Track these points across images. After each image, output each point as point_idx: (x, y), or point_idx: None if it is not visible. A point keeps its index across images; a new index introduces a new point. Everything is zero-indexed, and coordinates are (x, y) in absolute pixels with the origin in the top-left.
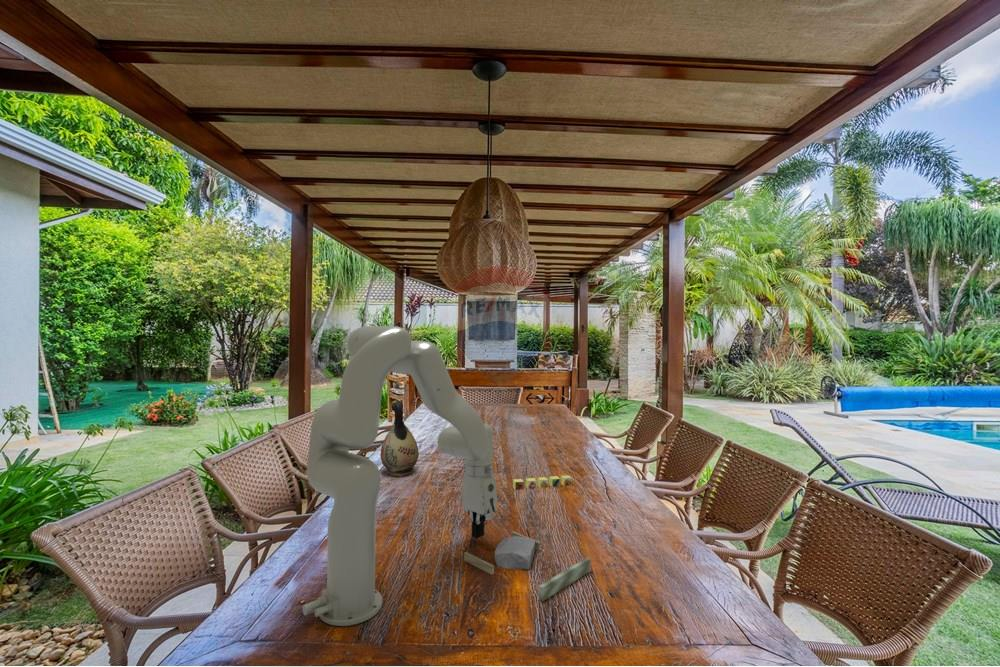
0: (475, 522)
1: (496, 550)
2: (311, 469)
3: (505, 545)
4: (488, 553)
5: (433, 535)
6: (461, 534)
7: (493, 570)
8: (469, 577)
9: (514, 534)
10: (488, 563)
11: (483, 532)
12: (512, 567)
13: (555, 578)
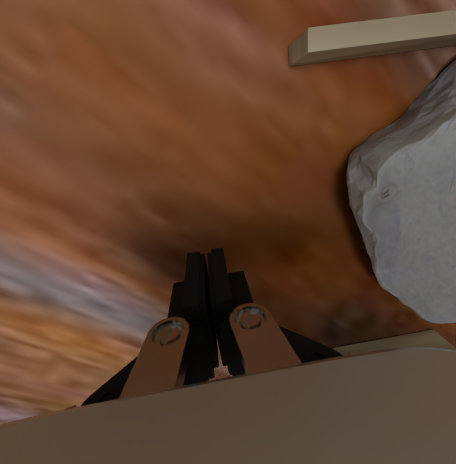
0: (209, 358)
1: (387, 280)
2: None
3: (420, 240)
4: (319, 271)
5: (22, 371)
6: (68, 273)
7: (443, 340)
8: None
9: (331, 51)
10: None
11: (244, 275)
12: None
13: None
